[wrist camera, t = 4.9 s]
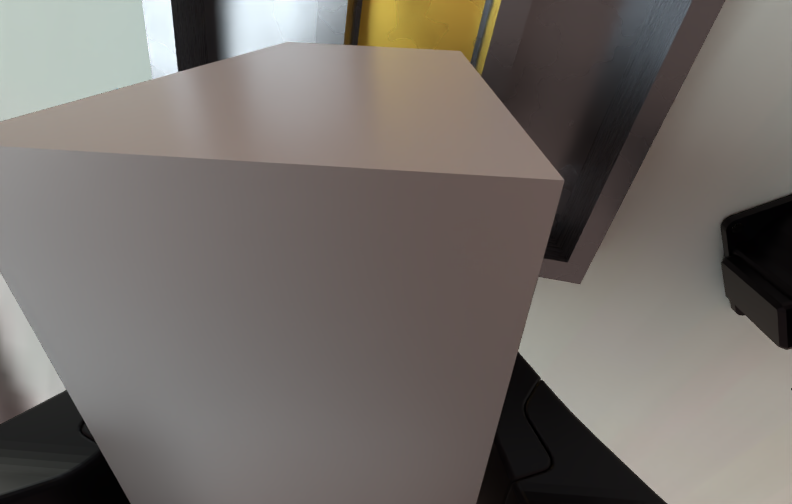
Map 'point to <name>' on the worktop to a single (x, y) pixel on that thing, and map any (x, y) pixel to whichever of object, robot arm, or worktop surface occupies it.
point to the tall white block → (283, 272)
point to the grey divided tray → (496, 74)
